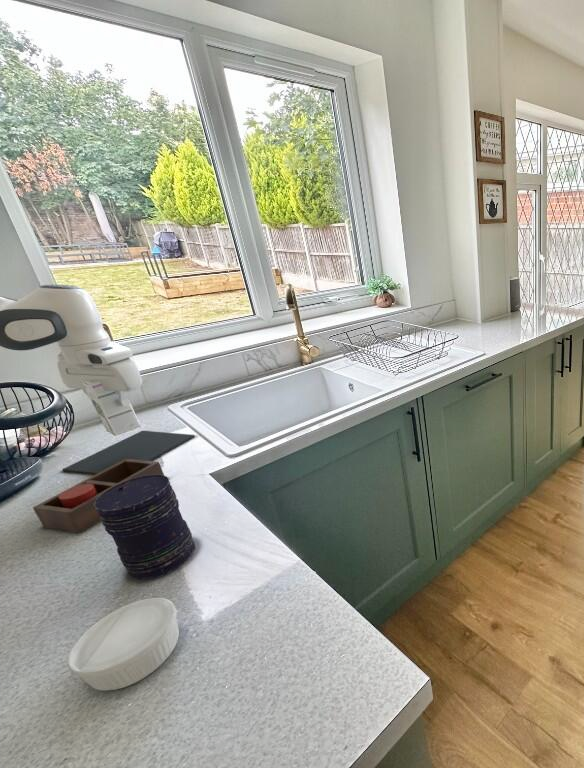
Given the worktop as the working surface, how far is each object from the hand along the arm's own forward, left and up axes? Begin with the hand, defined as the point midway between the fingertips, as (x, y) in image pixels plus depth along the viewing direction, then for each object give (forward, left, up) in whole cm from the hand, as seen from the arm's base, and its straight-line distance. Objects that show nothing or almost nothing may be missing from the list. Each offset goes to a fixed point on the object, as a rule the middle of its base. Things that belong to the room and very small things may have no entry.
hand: (112, 404), depth 105 cm
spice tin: (+16, -22, -14) cm, 31 cm away
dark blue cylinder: (+44, -30, -15) cm, 55 cm away
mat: (0, 0, -14) cm, 14 cm away
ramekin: (+58, -46, -15) cm, 75 cm away
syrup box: (0, 0, -7) cm, 7 cm away
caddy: (+16, -18, -14) cm, 28 cm away
